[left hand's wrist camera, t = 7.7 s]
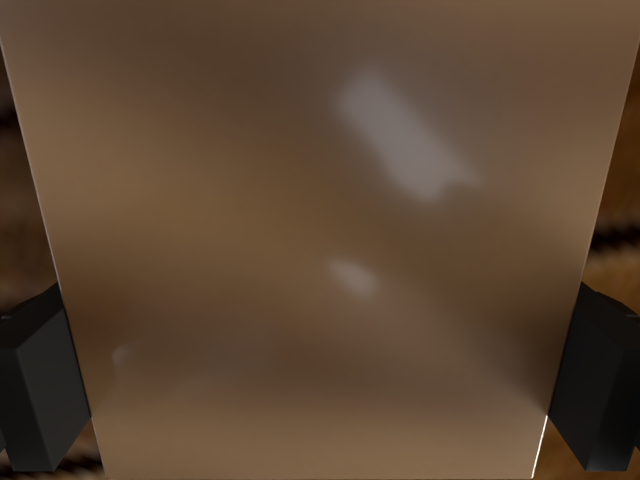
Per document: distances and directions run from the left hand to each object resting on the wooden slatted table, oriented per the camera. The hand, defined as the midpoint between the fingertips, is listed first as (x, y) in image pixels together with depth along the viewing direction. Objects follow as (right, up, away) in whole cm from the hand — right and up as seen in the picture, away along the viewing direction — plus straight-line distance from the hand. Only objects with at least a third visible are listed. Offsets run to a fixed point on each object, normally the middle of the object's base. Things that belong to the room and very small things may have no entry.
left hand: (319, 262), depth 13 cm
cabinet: (0, +7, +1) cm, 7 cm away
